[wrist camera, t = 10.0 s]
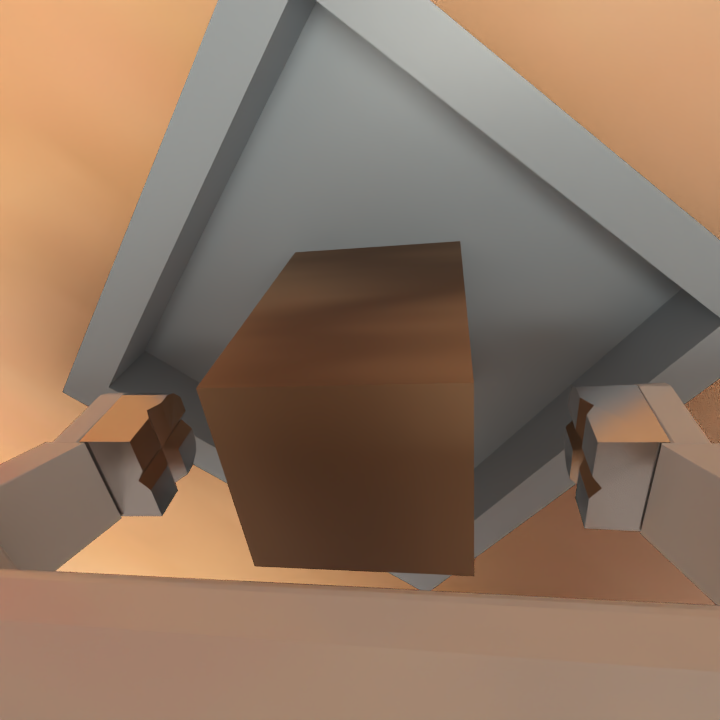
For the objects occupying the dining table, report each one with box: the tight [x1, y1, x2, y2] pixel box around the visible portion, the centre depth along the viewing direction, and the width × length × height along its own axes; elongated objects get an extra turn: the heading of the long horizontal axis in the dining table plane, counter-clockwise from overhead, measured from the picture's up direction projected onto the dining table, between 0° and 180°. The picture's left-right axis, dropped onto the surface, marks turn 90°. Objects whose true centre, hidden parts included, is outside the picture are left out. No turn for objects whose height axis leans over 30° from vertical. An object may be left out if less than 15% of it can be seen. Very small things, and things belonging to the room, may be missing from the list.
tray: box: [63, 0, 720, 591], centre depth 13 cm, size 12×12×2 cm
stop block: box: [196, 241, 474, 576], centre depth 11 cm, size 4×4×6 cm
